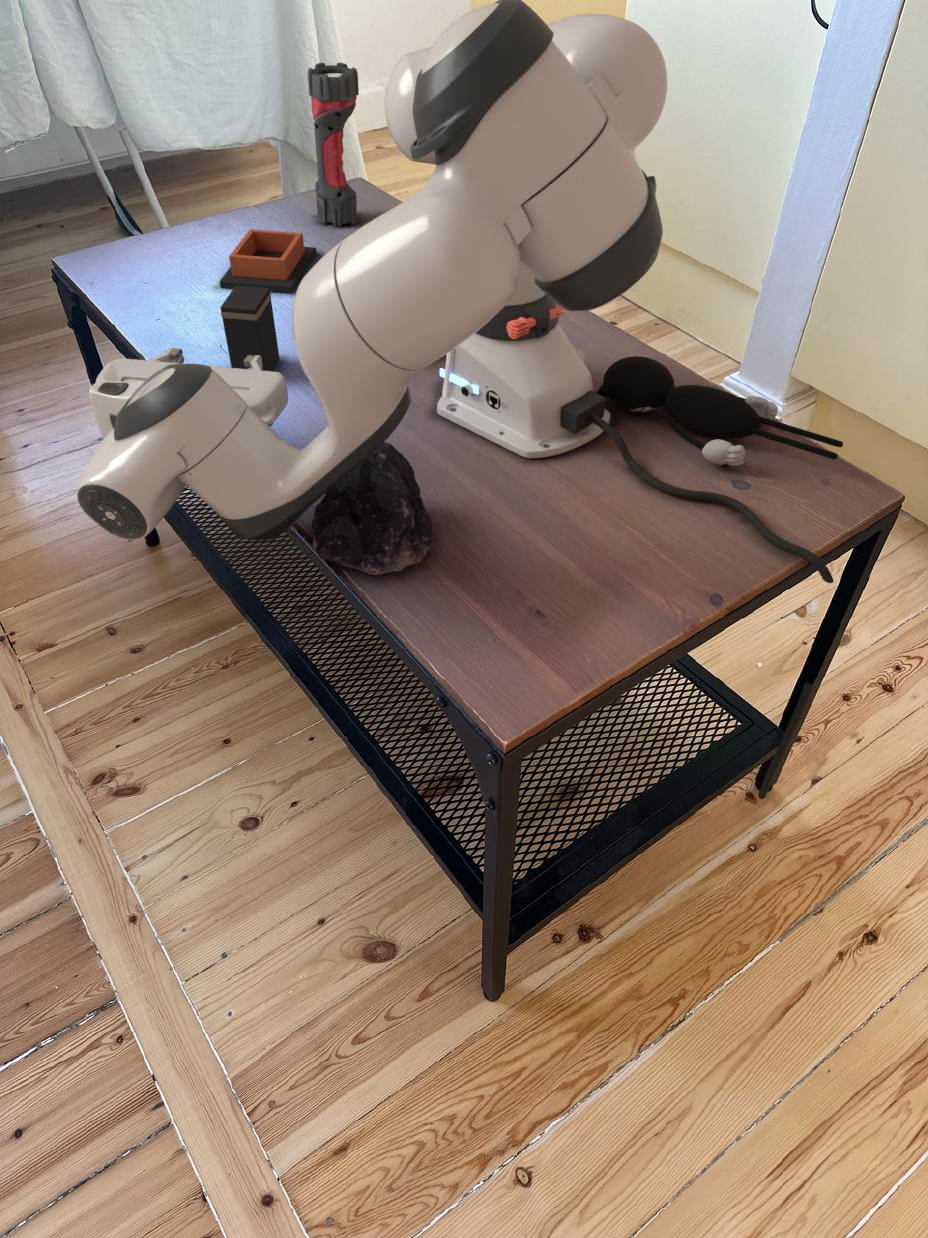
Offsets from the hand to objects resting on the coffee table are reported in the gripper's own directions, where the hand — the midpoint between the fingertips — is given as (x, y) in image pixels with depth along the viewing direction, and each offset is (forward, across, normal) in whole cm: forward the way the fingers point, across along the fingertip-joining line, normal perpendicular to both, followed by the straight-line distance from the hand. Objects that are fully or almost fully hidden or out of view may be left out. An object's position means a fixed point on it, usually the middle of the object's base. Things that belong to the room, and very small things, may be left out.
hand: (216, 356), depth 107 cm
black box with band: (+12, 0, +8) cm, 14 cm away
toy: (0, -72, +6) cm, 72 cm away
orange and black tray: (+41, +7, +8) cm, 42 cm away
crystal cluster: (-19, -22, +9) cm, 31 cm away
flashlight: (+60, 0, +8) cm, 61 cm away
